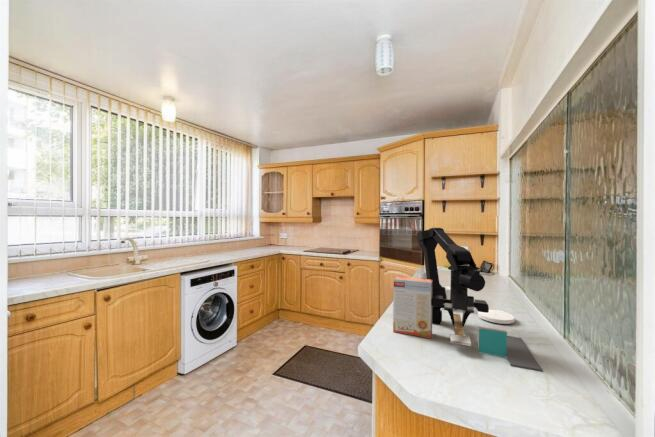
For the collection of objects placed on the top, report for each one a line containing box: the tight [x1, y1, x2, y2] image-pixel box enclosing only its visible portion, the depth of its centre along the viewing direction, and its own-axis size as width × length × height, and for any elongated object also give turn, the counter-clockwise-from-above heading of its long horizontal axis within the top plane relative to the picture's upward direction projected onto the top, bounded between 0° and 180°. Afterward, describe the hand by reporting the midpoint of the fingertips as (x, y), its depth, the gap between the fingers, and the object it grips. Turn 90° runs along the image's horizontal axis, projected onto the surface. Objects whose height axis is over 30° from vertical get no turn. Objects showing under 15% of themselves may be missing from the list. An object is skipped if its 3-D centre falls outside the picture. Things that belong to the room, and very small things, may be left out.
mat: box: [506, 335, 543, 372], centre depth 97 cm, size 8×24×1 cm, turn 159°
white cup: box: [441, 285, 450, 311], centre depth 142 cm, size 8×8×10 cm
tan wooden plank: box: [449, 313, 472, 347], centre depth 104 cm, size 6×22×3 cm, turn 160°
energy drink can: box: [418, 271, 427, 279], centre depth 153 cm, size 6×6×15 cm
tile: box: [477, 326, 508, 358], centre depth 95 cm, size 8×2×8 cm, turn 69°
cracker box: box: [392, 276, 433, 339], centre depth 111 cm, size 14×6×21 cm, turn 65°
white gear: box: [477, 308, 516, 325], centre depth 127 cm, size 14×14×2 cm
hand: (458, 326), depth 105 cm, fingers closed on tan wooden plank, 3 cm apart
